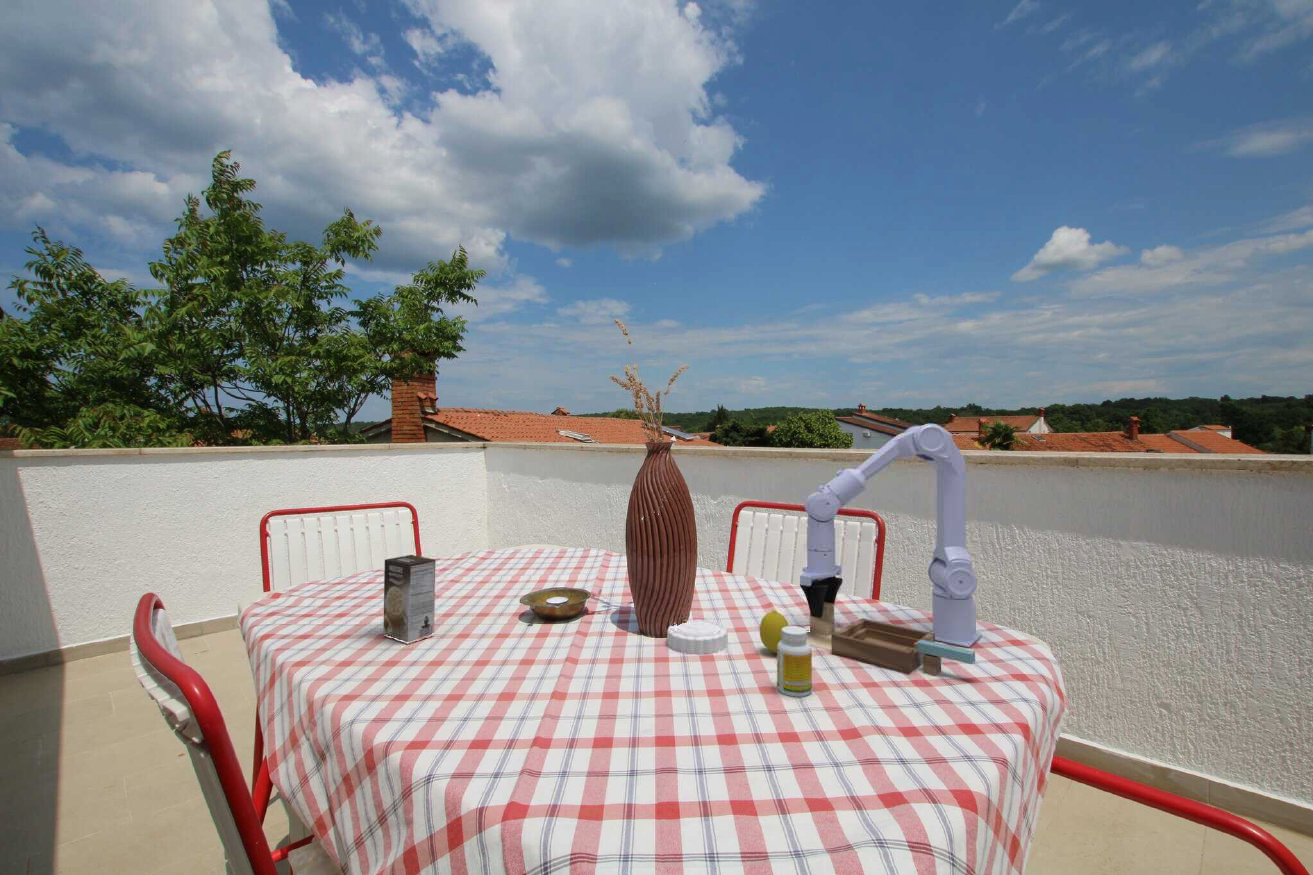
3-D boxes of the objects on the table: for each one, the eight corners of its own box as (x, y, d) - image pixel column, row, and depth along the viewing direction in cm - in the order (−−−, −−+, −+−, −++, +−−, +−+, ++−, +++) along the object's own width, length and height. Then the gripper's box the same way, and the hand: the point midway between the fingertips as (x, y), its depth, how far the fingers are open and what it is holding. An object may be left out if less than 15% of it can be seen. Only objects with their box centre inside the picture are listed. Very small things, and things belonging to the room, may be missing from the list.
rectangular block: (921, 648, 96) (921, 639, 96) (975, 661, 91) (975, 651, 91) (917, 651, 95) (917, 642, 95) (971, 664, 89) (971, 654, 89)
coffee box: (381, 637, 113) (382, 559, 113) (409, 628, 118) (410, 554, 119) (407, 645, 108) (408, 563, 108) (436, 636, 113) (437, 558, 114)
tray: (862, 635, 113) (862, 618, 113) (955, 657, 101) (955, 637, 101) (831, 653, 103) (831, 634, 103) (930, 680, 91) (930, 658, 91)
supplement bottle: (770, 687, 88) (769, 627, 88) (796, 681, 90) (795, 622, 91) (792, 700, 83) (791, 637, 84) (819, 693, 86) (818, 632, 86)
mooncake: (740, 647, 107) (740, 629, 107) (692, 660, 100) (692, 641, 100) (701, 631, 117) (701, 614, 117) (655, 642, 110) (655, 624, 110)
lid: (808, 627, 120) (807, 597, 120) (858, 639, 112) (858, 607, 112) (781, 640, 112) (780, 607, 112) (833, 654, 104) (833, 619, 104)
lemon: (790, 659, 100) (789, 615, 100) (759, 657, 101) (759, 613, 101) (789, 649, 105) (788, 607, 106) (760, 647, 106) (759, 605, 107)
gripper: (819, 543, 123) (820, 603, 123) (786, 551, 113) (787, 617, 112) (849, 546, 118) (850, 609, 118) (818, 555, 108) (818, 625, 108)
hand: (821, 614), depth 115 cm, fingers open, 4 cm apart
